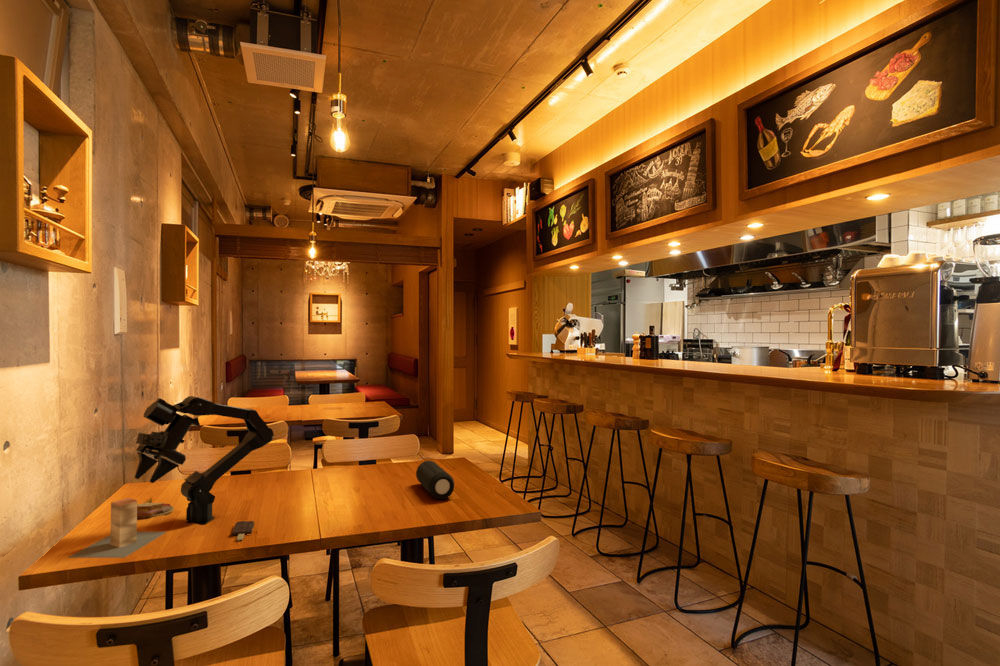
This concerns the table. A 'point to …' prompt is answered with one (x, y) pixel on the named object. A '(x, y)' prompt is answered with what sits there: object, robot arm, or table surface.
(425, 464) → the portable speaker
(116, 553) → the rubber mat
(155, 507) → the toy sandwich meal
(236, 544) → the table surface
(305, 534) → the table surface
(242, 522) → the ice cream bar
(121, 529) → the maple block
